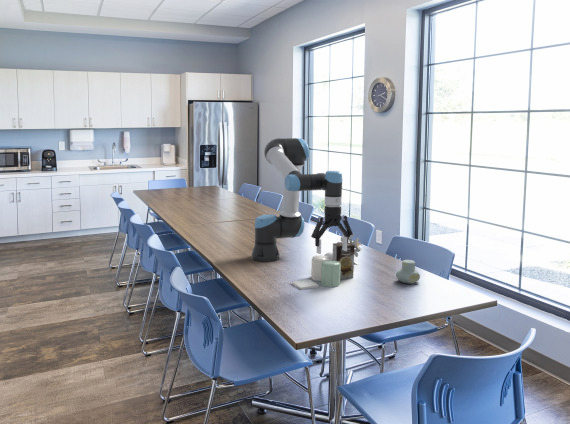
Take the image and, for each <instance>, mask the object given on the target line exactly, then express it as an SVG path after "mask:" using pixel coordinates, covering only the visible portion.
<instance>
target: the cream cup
mask: <svg viewBox="0 0 570 424" xmlns="http://www.w3.org/2000/svg"><path fill="white" fill-rule="evenodd" d="M328 260H330V258H329V257H327V256H324V255H314V256H312V258H311V274H310V275H311V277H310V279H312V280H313V281H317V282H318V281H319V282H321V269H322V262H323V261H328Z"/></svg>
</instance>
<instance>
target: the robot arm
mask: <svg viewBox="0 0 570 424" xmlns="http://www.w3.org/2000/svg"><path fill="white" fill-rule="evenodd" d="M263 153H264V158H265V160H266V161H267V162H268V163H269V164H270V165H273V166H274V167H275V169H276V170H277V171H278V172H279V174H280V175H281V176H282V177H283V178H284V179H283V195H282V196H283V197H282V210H281V211H280V212H279V216H277V214H274V213H273V214H263V215H260V216H257V217H255V220H254V246H253V248H252V252H251V260H253V261H255V262H261V263H262V262H263V263H264V262H266V263H269V262H275V261H279V260H280V252H279V249H278V248H279V247H278V245H277V240H278V239H288V238H289V239H291V238H292V239H293V238H299V237H300V236H301V235H302V234H303V233H304V229H305V219H304V217H303V216H302V213H301V212H300V211H299V207H300V205H299V203H300V192H305V191H307V192H309V191H324V216H323V217H321V216H318V217H317V223H316V225H315V227H314V229H313V231H312V234H311V236H310V237H311V238H312V239H315V241H314V243H315V245H314V246H315V247H316V253H317V254H318V255H321V254H322V239H321V237H323V235H324V234H325V232H326V231H327V230H328V229H329V228H330V227H338V229H339V230H340V231H341V233H342V237H343V246H342V250H344V251H347V243H350V242H349V237H350V235H353V234H354V233H353V230H352V229H351V226H350V224H349V221H348V215H345V214H343V215H342V198H343V197H342V194H343V173H342V171H339V170H327V171H326V172H318V173H305V174H304V173H302V167H304V166H305V162H307V160H308V159H309V157H310V150H309V145H308V143H307V141H306V139H303V138H300V137H299V138H296V137H294V138H293V137H292V138H291V137H290V138H289V137H288V138H274V139H271V140H270V141H269V142H267V144H266V146H265V147H264V152H263ZM341 221H342V222H341ZM342 223H343V224H342ZM343 225H344V226H343ZM343 234H344V235H345V236H343Z"/></svg>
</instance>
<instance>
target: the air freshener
mask: <svg viewBox="0 0 570 424" xmlns="http://www.w3.org/2000/svg"><path fill="white" fill-rule="evenodd" d="M395 277H396V279H397V280H398V281H399V282H401V283H403V284H408V285H412V284H416V282H418V281H419V280H420V279H421V275H420V273H419V271H418V270H417V269H416V262H415V260H412V259H404V260H402V261H401V269H399V270H398V271H396V273H395Z"/></svg>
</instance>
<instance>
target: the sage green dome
mask: <svg viewBox="0 0 570 424" xmlns="http://www.w3.org/2000/svg"><path fill="white" fill-rule="evenodd" d="M340 273H341V264H340V262H338V261H332V260H328V261H323V262H322V269H321V281H320V284H321V285H322V286H324V287H329V288H330V287H331V288H333V287H334V288H335V287H339V286H340V284H341V279H340Z"/></svg>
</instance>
